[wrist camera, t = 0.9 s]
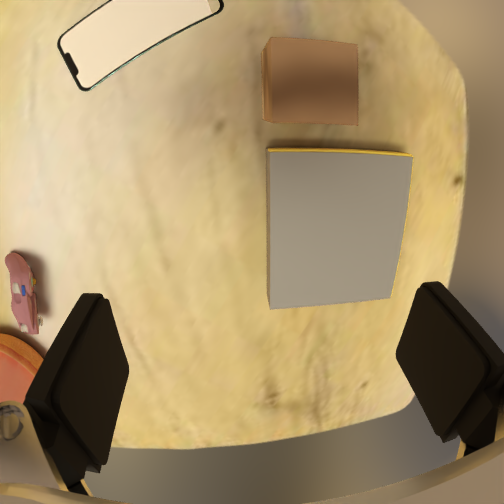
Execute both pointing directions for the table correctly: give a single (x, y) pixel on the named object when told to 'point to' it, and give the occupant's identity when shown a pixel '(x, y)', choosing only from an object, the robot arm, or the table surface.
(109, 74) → the smartphone
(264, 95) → the brown wooden block
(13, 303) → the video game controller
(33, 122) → the table surface
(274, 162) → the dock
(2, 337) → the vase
